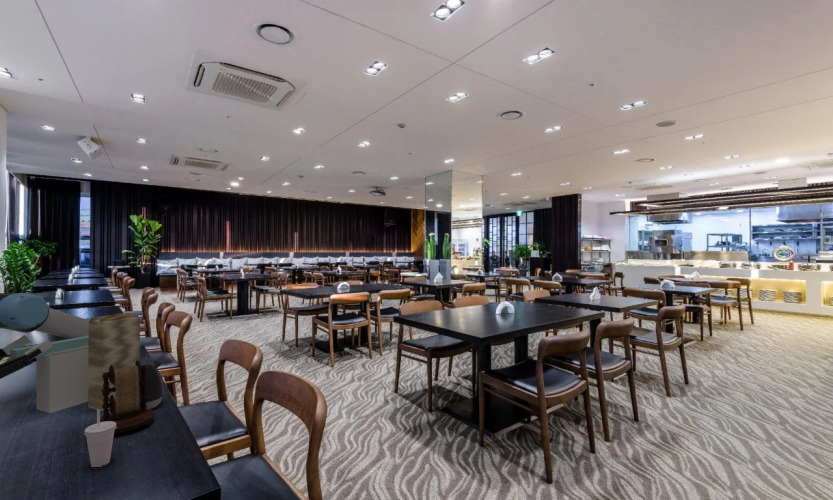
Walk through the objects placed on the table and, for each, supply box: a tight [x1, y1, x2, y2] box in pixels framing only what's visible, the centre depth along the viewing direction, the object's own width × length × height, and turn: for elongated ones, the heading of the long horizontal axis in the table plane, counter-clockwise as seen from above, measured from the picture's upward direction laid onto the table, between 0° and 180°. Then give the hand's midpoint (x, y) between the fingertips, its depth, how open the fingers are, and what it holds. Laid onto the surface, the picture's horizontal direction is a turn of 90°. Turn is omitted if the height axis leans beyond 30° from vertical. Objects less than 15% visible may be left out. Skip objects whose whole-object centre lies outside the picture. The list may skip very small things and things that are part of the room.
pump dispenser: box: [139, 361, 165, 410], centre depth 134 cm, size 10×10×15 cm
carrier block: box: [35, 346, 89, 414], centre depth 137 cm, size 16×8×20 cm, turn 157°
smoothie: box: [84, 409, 116, 468], centre depth 99 cm, size 6×6×14 cm
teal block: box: [9, 336, 89, 361], centre depth 133 cm, size 22×4×4 cm, turn 157°
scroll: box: [94, 360, 155, 434], centre depth 120 cm, size 15×15×20 cm
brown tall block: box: [87, 312, 141, 412], centre depth 138 cm, size 12×8×31 cm, turn 157°
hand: (38, 340), depth 129 cm, fingers open, 13 cm apart
